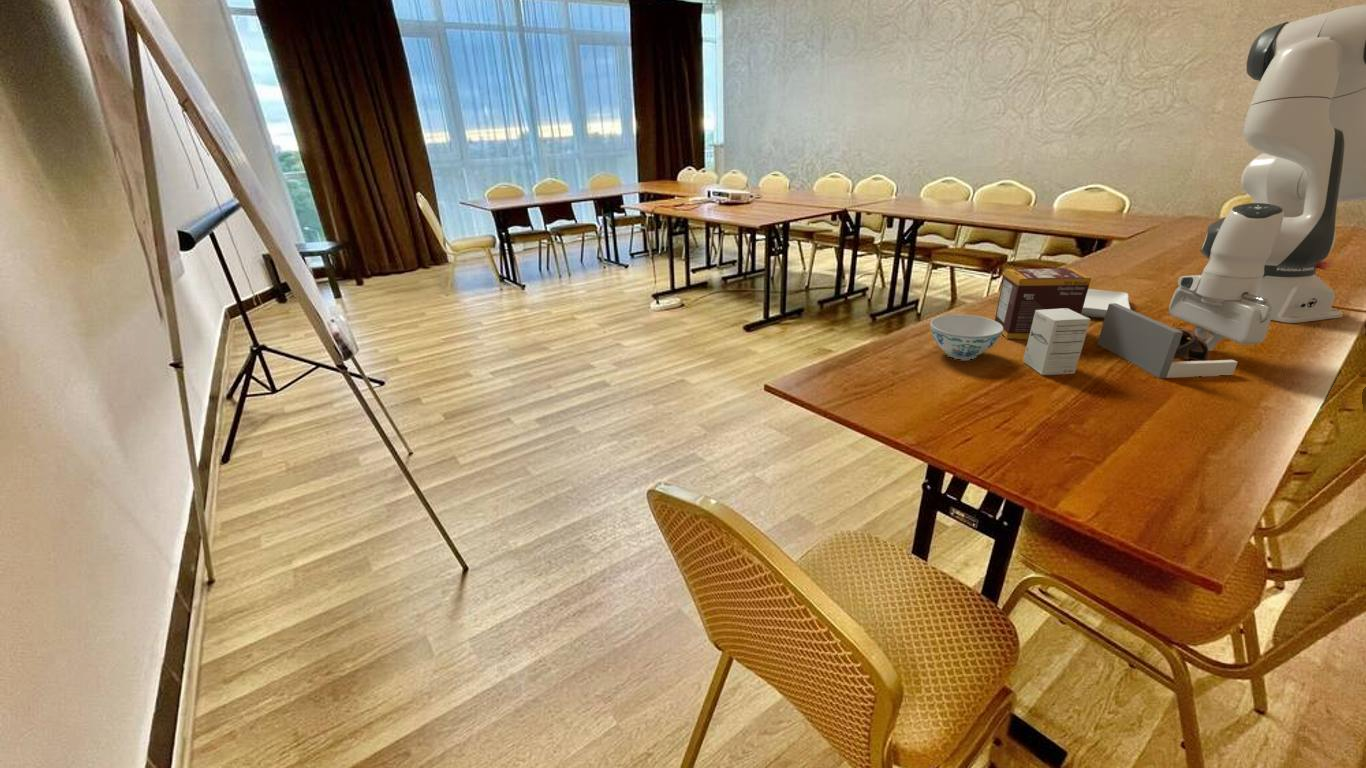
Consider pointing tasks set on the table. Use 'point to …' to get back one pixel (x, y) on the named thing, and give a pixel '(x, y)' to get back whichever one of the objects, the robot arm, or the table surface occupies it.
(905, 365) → the table surface
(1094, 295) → the salad plate
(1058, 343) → the supplement box
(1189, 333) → the pottery mug
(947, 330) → the chinaware
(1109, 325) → the display stand
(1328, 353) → the table surface
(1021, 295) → the supplement box
